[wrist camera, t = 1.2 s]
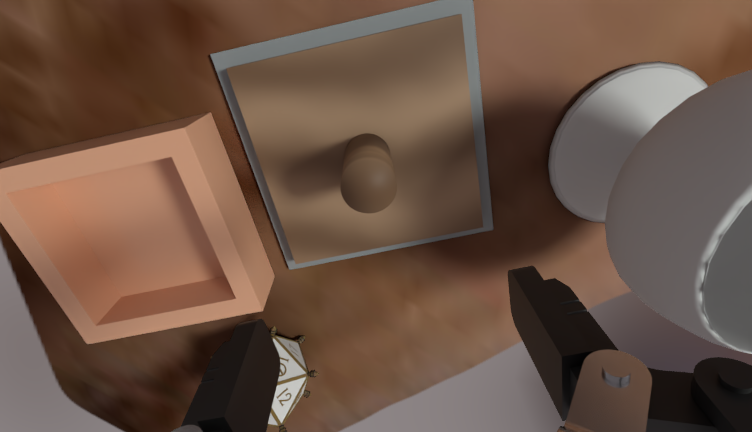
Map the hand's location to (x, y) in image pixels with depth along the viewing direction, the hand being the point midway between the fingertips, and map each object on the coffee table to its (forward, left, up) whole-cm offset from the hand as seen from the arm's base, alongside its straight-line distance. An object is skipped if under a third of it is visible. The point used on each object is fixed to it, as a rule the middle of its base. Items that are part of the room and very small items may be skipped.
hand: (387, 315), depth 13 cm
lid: (0, 0, -18) cm, 18 cm away
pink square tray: (+2, -17, -18) cm, 25 cm away
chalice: (+4, +19, -18) cm, 26 cm away
